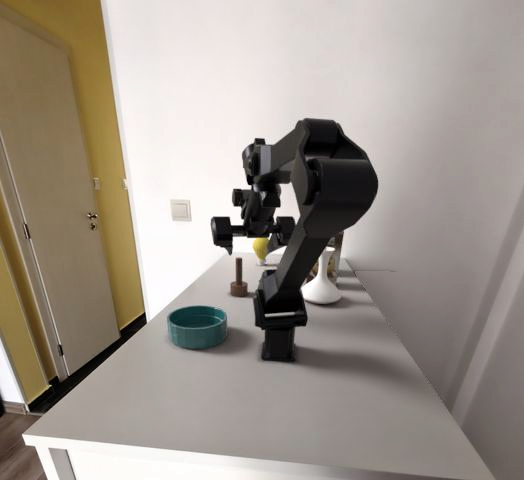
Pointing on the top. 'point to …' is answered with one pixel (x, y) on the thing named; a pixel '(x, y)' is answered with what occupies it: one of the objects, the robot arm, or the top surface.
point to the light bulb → (260, 249)
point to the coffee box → (330, 260)
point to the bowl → (197, 326)
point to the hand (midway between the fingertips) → (248, 253)
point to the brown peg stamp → (238, 281)
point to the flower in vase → (322, 283)
